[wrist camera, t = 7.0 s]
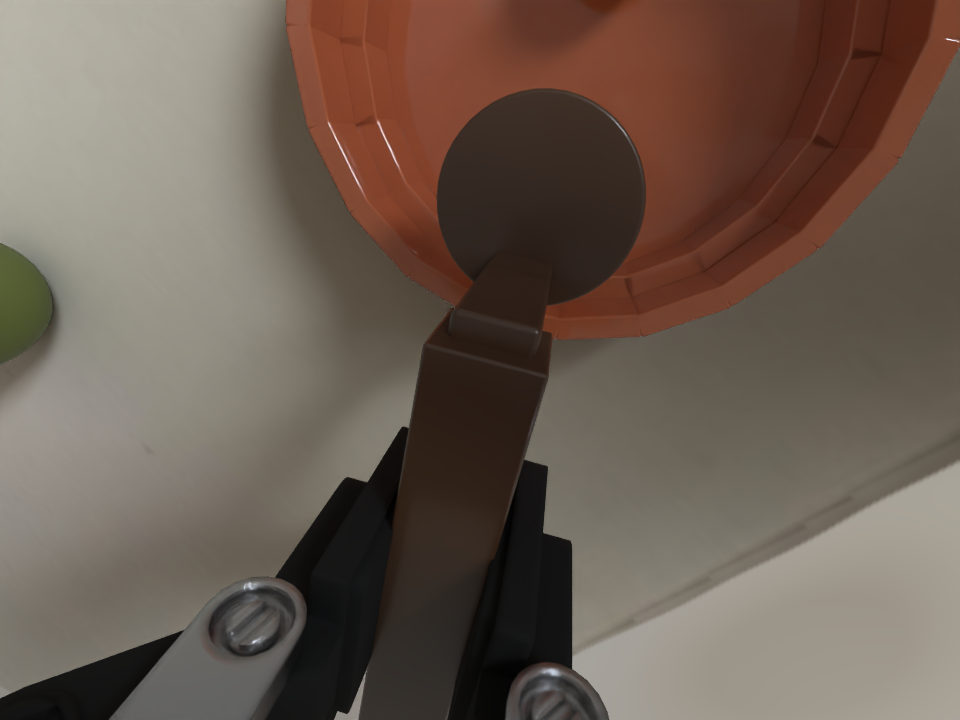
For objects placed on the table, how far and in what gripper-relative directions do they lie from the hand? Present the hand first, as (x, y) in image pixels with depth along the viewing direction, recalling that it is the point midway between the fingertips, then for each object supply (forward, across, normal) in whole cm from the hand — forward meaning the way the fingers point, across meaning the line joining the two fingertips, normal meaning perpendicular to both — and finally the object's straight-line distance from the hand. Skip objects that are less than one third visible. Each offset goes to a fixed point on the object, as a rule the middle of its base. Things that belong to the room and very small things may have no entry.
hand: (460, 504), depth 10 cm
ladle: (+4, 0, 0) cm, 4 cm away
